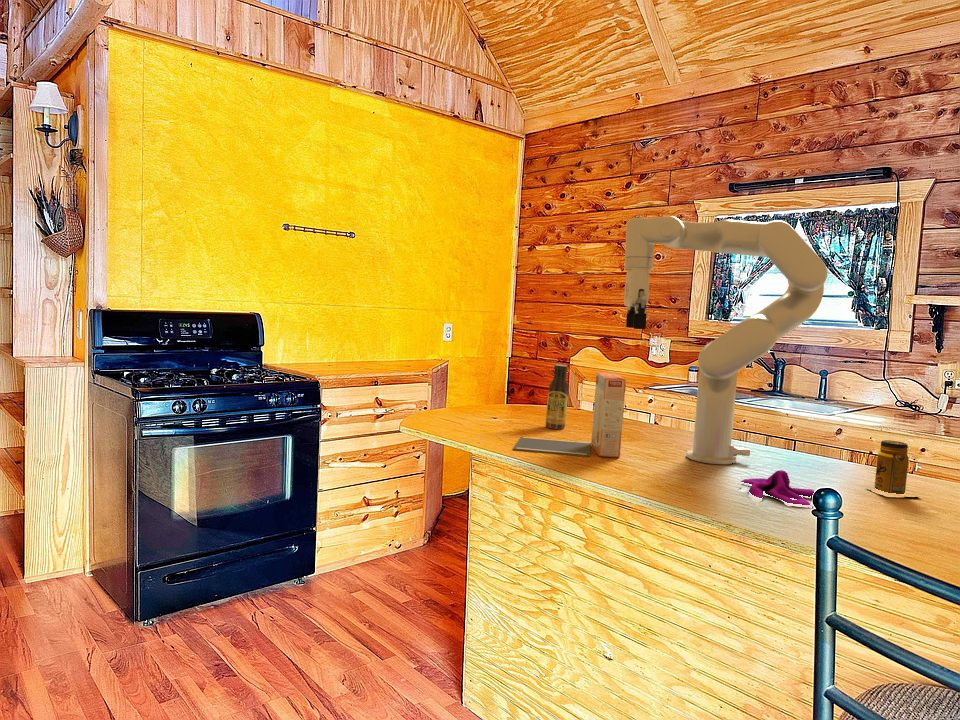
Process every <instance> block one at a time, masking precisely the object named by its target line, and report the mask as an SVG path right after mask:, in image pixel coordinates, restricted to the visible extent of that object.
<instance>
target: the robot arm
mask: <svg viewBox="0 0 960 720" xmlns="http://www.w3.org/2000/svg"><path fill="white" fill-rule="evenodd" d="M655 244H657V245H663V246H665V247H666V248H670V249H671V248H672V249H679V250H680V249H681V250H692V251H702V252H710V253H717V254H719V253H721V254H728V255H729V254H730V255H740V256H751V257H752V256H753V257H760V258H768V259H769V261H771V262H772V264H773V265H774V266H775V267H776V268H777V269H778V271H779V272H781V274H782V275H783V276H784V277H785V278H786V279H787V284H788V286H787V289H786V291H785V292H784V293H783V294H782V295H781V296H780V297H778V298H777V299H775V300H773V302H770V304H769V305H766V306H765V307H764V308H763V309H761V310H760V311H758V312H757V313H755V314H753V315H751V316H748V317H746V318H744V319H742V321H740V322H739V323H738V324H736V325H735V326H733V327H731V329H728V330H727V331H726V332H724V333H723V334H721V335H720V336H718V337H717V338H715V339H714V340H712V341H710V342H708V343H706V344H705V345H704V346H703V347H702V348H701V350H700V352H699V355H698V358H697V359H698V360H697V362H698V363H697V364H698V367H699V371H698V381H697V382H698V383H697V393H696V395H697V396H696V404H695V405H696V406H695V416H694V419H695V420H694V431H693V443H692V449H689V450H687V451H686V452H685V454H686V455H685V456H686V458H688V459H690V460H692V461H694V462H698V463H699V462H700V463H704V464H709V465H710V464H712V465H732V463H733V464H735V463H736V462H737V456H743V457H750V455H751V449H750V448H744V447H740V446H739V447H738V446H735V445H734V444H733V443H732V440H733V429H734V416H735V405H736V404H735V403H736V395H737V385H738V384H737V383H738V382H737V381H738V373H739V371H741V370H742V369H744V368H745V367H747V366H748V365H750V364H751V363H753V362H754V361H756V360H758V359H760V358H761V357H762V356H764V355H765V354H767V353H768V352H770V350H772V349H773V348H774V346H775V345H776V343H777V342H778V341H779V340H780V339H782V338H783V337H785V336H786V335H788V334H789V333H791V332H792V331H793V330H795V329H796V328H798V327H799V326H801V325H802V324H803V323H805V322H807V320H809V319H810V318H811V317H812V316H813V315H814V314H815V312H816V311H817V310H818V308H819V306H820V305H821V302H822V299H823V296H824V292H825V291H824V290H825V283H826V281H827V278H828V268H827V266H826V264H825V262H824V260H822V258H821V257H820V256H819V255H818V254H817V253H816V252H815V251H814V249H812V248H811V247H810V245H809V244H808V243H807V242H806V241H805V240H804V239H803V238H802V236H800V234H799V233H798V232H797V231H796V230H795V229H794V227H792V226H791V224H789V222H788V223H787V222H785V221H783V220H771V221H769V222H761V221H758V222H757V221H748V220H737V219H721V220H718V221H717V220H716V221H711V222H699V221H698V222H695V221H685V220H684V221H683V220H680V219H679V218H677V217H676V216H674V215H672V216H671V215H664V216H658V217H650V218H649V217H632V218H630V219H628V221H626V228H625V250H624V266H623V267H624V268H623V269H624V271H626V277H625V283H624V284H625V286H624V296H623V297H624V298H623V305H624V306H625V307H627V309H626V319H625V320H626V323H625V327H626V328H633V329H634V330H646V328H647V316H648V315H647V311H648V310H647V306H648V303H649V297H650V271H653V270H654V255H655V254H654V253H655Z"/></svg>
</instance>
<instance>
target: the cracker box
mask: <svg viewBox="0 0 960 720" xmlns="http://www.w3.org/2000/svg"><path fill="white" fill-rule="evenodd" d="M626 383H627V379H626V378H624V377H623V376H621V375H619V374H618V373H617V372H616V373H615V372H607V371H606V372H605V371H604V372H600V371H599V372H597V371H596V375H595V389H594V401H593V402H594V403H593V405H594V406H593V416H592V417H593V418H592V419H593V420H592V429H591V431H592V432H591V442H590V443H591V448H592V449H593V450H594V451H595V452H596V454H597V455H598V457H601V458H620V456H621V447H622V433H623V430H622V429H623V421H624V420H623V419H624V410H625V409H624V407H625V395H626Z"/></svg>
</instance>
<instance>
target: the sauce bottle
mask: <svg viewBox="0 0 960 720" xmlns="http://www.w3.org/2000/svg"><path fill="white" fill-rule="evenodd" d="M553 369H554V374H553V379H552V380H551V382H550V384H549V387H548V388H549V389H548V393H547V402H546V403H547V404H546V413H545V427H546V428H548V429H551V430H563V429H565V427H566V421H567V411H568V401H569V387H570V386H569V385H568V382H567V371H568V365H566V364H554V368H553Z"/></svg>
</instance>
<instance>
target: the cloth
mask: <svg viewBox="0 0 960 720" xmlns="http://www.w3.org/2000/svg"><path fill="white" fill-rule="evenodd" d="M740 482H744V483H749V484H752V486H751V487H749V488H748V489H749V492H750V493H751V494H752V495H754V496H756V497H759V498H762V497H763V498H764V495H763V491H765V493H766V494H768V495H770V496H773V497H775V498H778V499H781V500H783V501H785V502H787V503H793V504H802V505H810V504H811V503H810V502H809V501H808V499H807V500H806V498H802V497H801V496H799V495H803V496H808V497H810V496H811V499H810V500H812V495H813V493H814V491H815V489H812V488H811V489H810V488H799V487H791V486H790V483H791V481H790V478H789V474H788V472H786V471H785V470H782V469H779V470H776V471H775V472H774V473H772V474H771V475H770V476H769V477H767V478H764V477H763V478H759V477H758V478H745V479H743V480H740ZM749 492H748V493H749ZM790 498H794V499H797V500H792V499H790ZM812 501H813V500H812ZM812 509H814V506H813V505H812Z"/></svg>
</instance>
